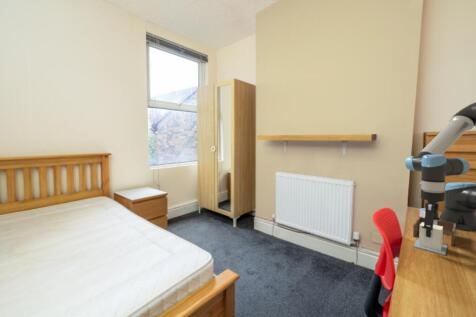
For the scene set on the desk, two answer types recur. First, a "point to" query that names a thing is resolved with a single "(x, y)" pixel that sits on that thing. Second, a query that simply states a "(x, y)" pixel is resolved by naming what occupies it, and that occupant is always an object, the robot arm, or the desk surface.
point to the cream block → (436, 237)
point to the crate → (447, 226)
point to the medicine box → (422, 212)
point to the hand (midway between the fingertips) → (430, 238)
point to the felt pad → (442, 252)
